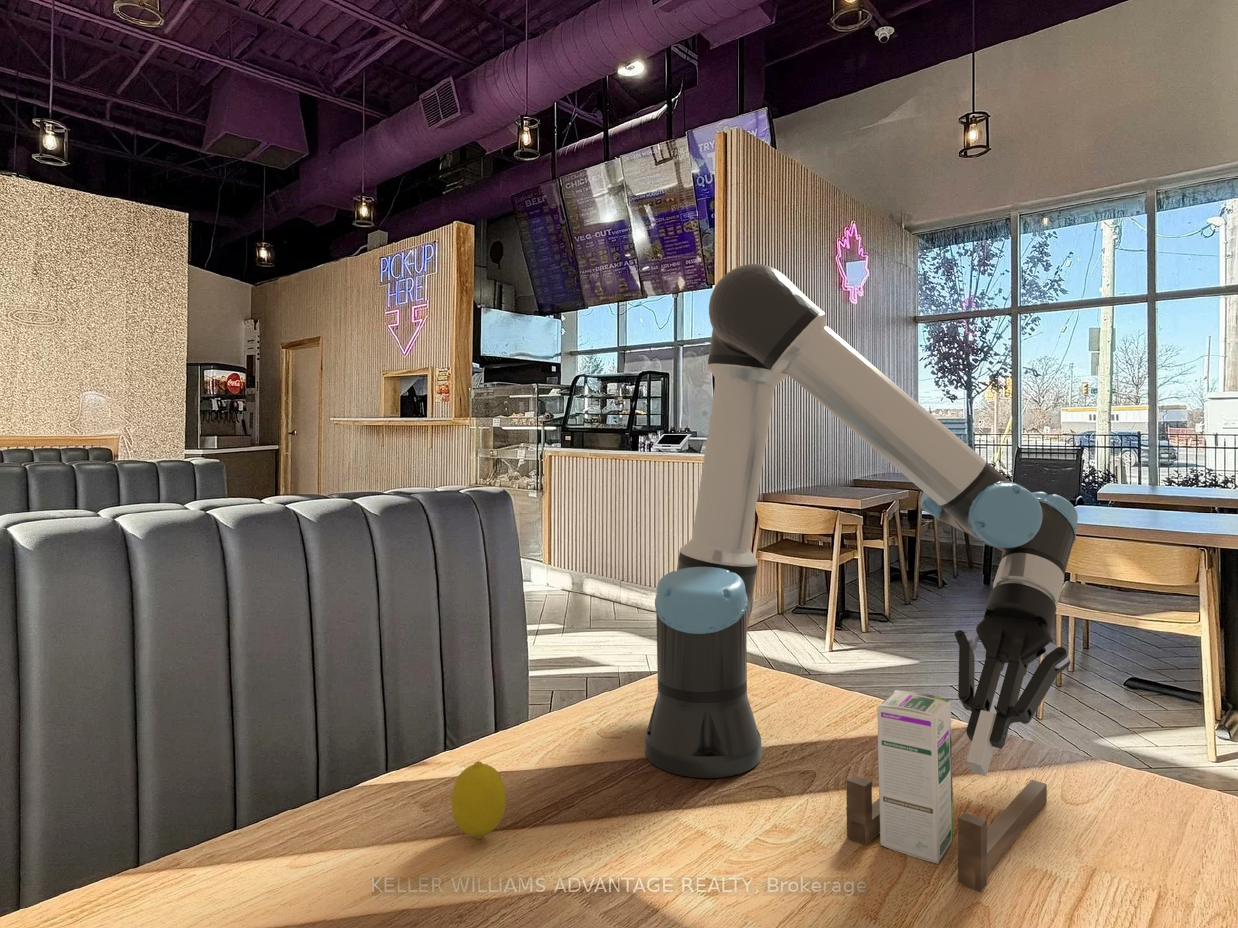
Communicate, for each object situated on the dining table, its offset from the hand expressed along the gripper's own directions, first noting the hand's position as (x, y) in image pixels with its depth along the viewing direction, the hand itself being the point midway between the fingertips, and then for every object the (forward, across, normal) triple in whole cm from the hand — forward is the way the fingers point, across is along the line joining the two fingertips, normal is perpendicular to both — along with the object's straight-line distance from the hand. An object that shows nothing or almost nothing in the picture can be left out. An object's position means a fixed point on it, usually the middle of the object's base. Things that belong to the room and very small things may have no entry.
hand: (976, 768), depth 82 cm
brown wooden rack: (+7, 0, +2) cm, 7 cm away
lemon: (+33, +34, +29) cm, 55 cm away
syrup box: (+12, +1, +7) cm, 14 cm away
